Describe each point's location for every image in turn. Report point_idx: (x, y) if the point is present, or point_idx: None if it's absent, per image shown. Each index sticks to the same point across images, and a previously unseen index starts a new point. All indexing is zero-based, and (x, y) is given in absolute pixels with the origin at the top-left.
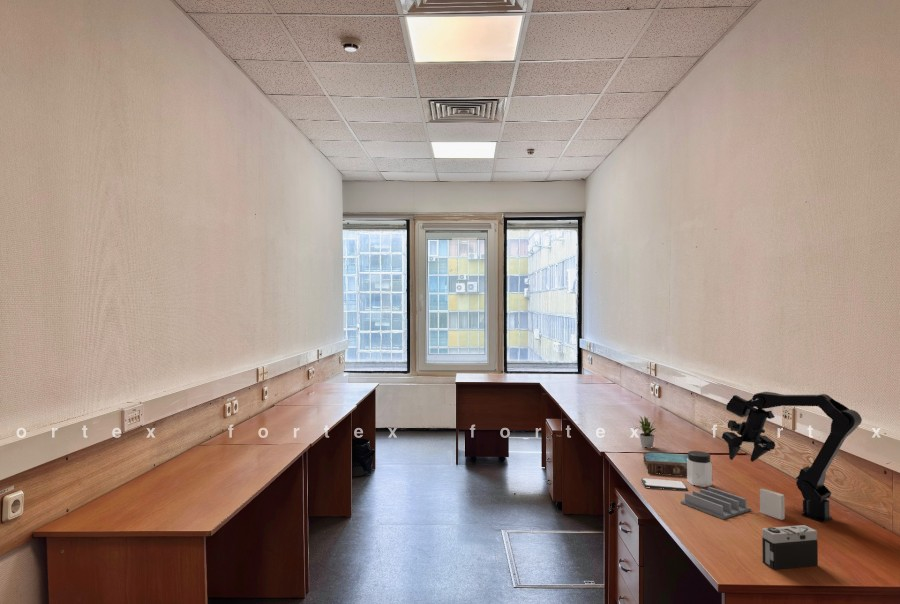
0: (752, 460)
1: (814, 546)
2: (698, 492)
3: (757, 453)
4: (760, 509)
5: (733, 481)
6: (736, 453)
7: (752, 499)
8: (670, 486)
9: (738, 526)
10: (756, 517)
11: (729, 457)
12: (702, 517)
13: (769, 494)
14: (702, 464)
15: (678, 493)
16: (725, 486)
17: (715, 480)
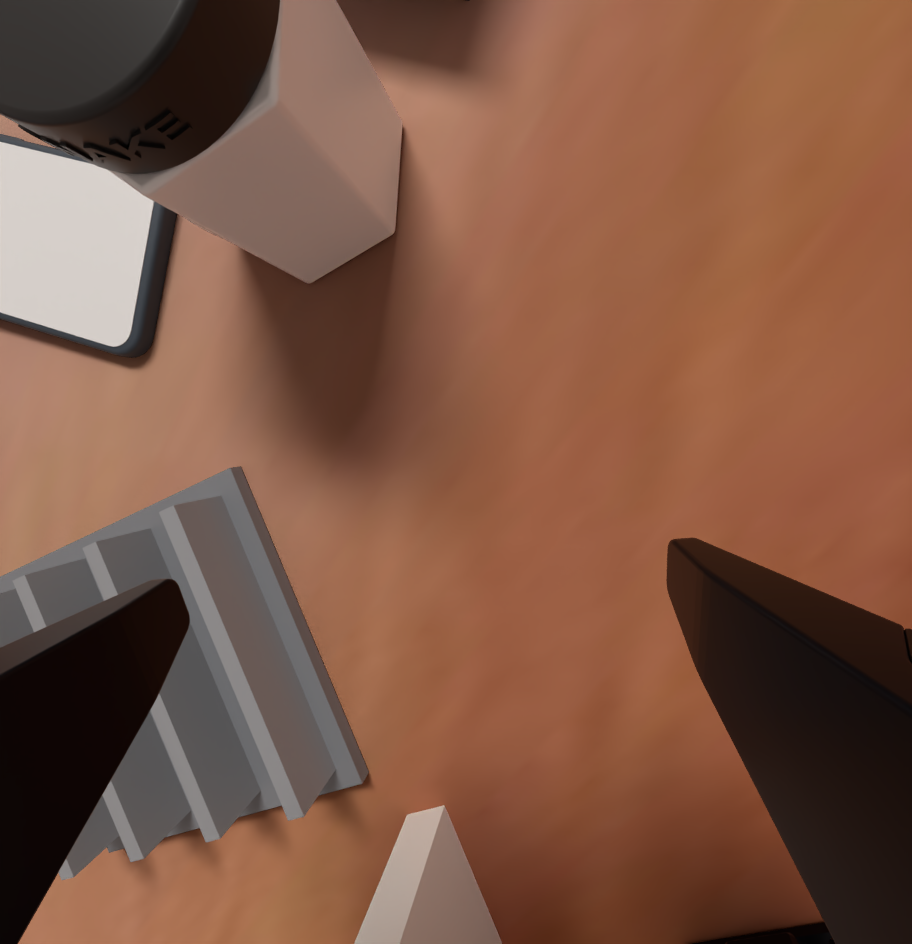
0: (678, 603)
1: None
2: (37, 616)
3: (824, 849)
4: (401, 836)
5: (690, 114)
6: (36, 884)
7: (530, 592)
8: (29, 310)
9: (154, 935)
10: (330, 871)
11: (134, 592)
12: None
13: None
14: (134, 187)
15: (66, 405)
16: (504, 267)
17: (515, 88)
